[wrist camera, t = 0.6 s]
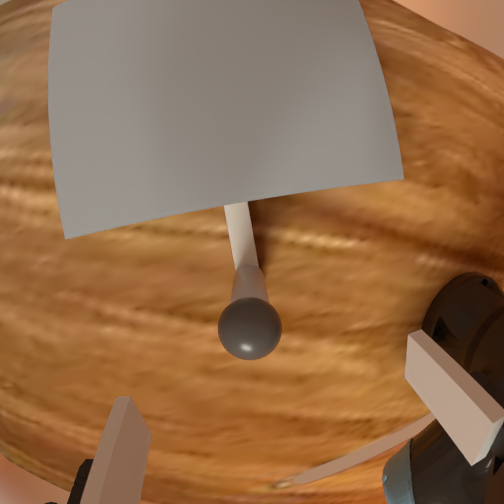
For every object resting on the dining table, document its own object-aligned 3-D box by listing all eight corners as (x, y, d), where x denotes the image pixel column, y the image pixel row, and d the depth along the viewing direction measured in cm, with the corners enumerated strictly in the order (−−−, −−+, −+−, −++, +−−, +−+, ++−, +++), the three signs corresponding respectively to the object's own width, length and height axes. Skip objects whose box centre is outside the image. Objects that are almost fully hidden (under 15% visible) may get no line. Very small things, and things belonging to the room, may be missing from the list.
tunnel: (107, 16, 28) (60, -35, 14) (297, -21, 27) (315, -88, 14) (128, 219, 33) (65, 239, 20) (346, 181, 33) (404, 179, 19)
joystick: (133, 55, 29) (73, -9, 14) (284, 26, 28) (305, -58, 13) (176, 306, 35) (133, 382, 20) (329, 281, 34) (383, 345, 19)
